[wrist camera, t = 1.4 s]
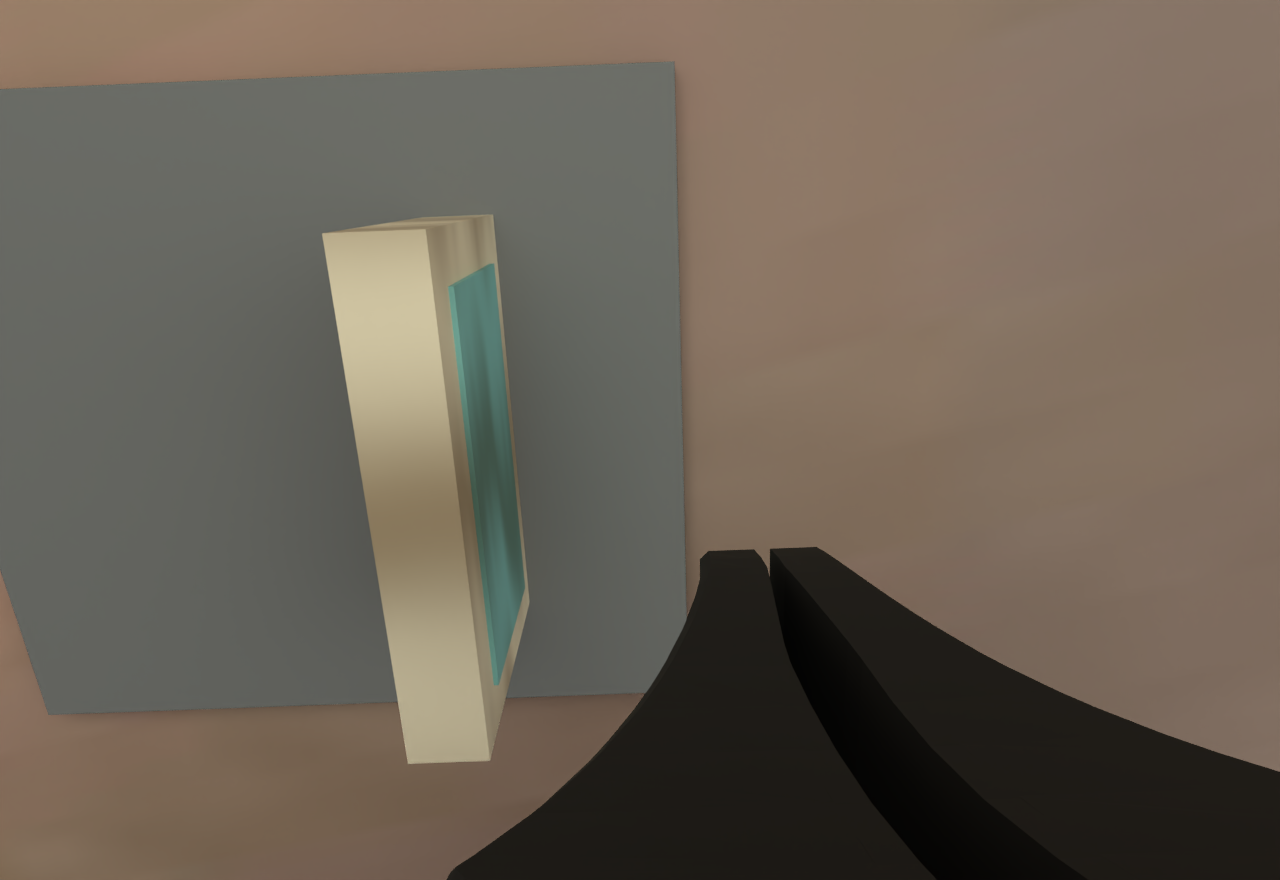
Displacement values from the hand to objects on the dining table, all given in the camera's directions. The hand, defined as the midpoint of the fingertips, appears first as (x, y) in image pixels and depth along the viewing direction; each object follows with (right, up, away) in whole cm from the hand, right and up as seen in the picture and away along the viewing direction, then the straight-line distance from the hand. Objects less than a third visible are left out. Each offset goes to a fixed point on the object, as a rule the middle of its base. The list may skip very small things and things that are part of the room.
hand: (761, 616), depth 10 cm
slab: (-6, +3, +9) cm, 11 cm away
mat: (-10, +3, +9) cm, 14 cm away
